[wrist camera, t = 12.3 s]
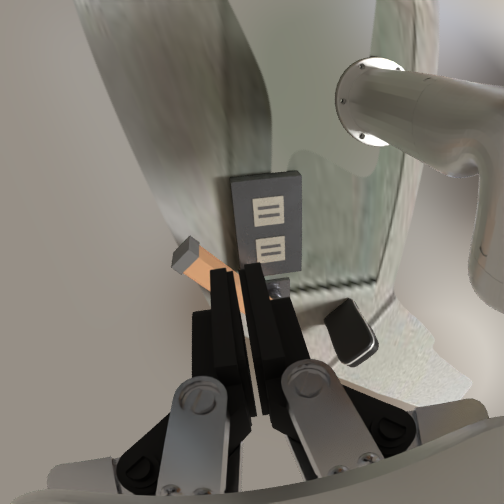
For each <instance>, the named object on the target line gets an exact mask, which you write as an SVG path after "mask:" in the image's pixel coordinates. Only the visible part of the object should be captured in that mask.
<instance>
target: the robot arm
mask: <svg viewBox="0 0 504 504" xmlns="http://www.w3.org/2000/svg"><path fill="white" fill-rule="evenodd" d="M359 65H360V66H361V68H359ZM395 69H396V70H395ZM340 99H342V102H340ZM335 106H336V112H337V115H338V118H339V120H340V122H341V124H342V125H343V127H344V128H345V130H346V131H347V132H348V133H349V134H350V135H351V136H352V137H354V138H355V139H357V140H358V141H360V142H362V143H364V144H367V145H371V146H386V145H392V146H394V147H396V148H398V149H399V150H401V151H403V152H405V153H407V154H409V155H410V156H412V157H414V158H416V159H417V160H419V161H421V162H423V163H424V164H426V165H428V166H429V167H431V168H433V169H435V170H437V171H438V172H440V173H442V174H444V175H447V176H450V177H455V178H465V177H470V176H474V175H477V174H479V190H478V203H477V211H476V217H475V224H474V230H473V236H472V242H471V247H470V254H469V260H468V274H469V279H470V283H471V285H472V287H473V289H474V291H475V292H476V294H477V295H478V296H479V298H480V299H481V300H483V301H484V302H485V303H486V304H487V305H489V306H490V307H492V308H494V309H495V310H497V311H499V312H501V313H504V86H495V85H488V84H482V83H475V82H470V81H465V80H460V79H455V78H449V77H444V76H438V75H432V74H425V73H418V72H411V71H405V70H404V69H403V68H402V67H401V66H400V65H398V64H397V63H395V62H393V61H391V60H389V59H385V58H381V57H369V58H364V59H361V60H358V61H356V62H355V63H353V64H352V65H350V66H349V67H348V68H347V69H346V70H345V71H344V73H343V74H342V76H341V77H340V80H339V82H338V84H337V88H336V92H335ZM360 134H361V135H360ZM359 135H360V136H359ZM238 272H239V278H240V284H241V291H242V297H243V303H244V309H245V315H246V321H247V327H248V333H249V339H250V345H251V351H252V357H253V362H254V369H255V374H256V380H257V385H258V392H259V398H260V403H261V409H262V414H263V415H268V414H269V416H270V421H271V423H272V427H273V428H274V429H276V430H278V431H280V432H281V433H283V434H285V438H286V440H287V443H288V445H289V447H290V450H291V452H292V455H293V457H294V460H295V462H296V465H297V467H298V469H299V472H300V474H301V476H302V479H303V481H304V482H300V483H295V484H290V485H284V486H279V487H273V488H266V489H260V490H253V491H244V492H241V486H242V485H241V484H242V463H243V462H242V461H243V440H244V439H245V438H246V436H247V435H248V434H249V433H250V432H251V426H252V423H251V417H255V416H257V413H256V406H255V400H254V394H253V388H252V381H251V375H250V369H249V363H248V357H247V350H246V344H245V337H244V331H243V325H242V319H241V314H240V308H239V302H238V297H237V291H236V285H235V279H234V273H233V271H228V272H227V270H226V267H225V268H219V269H212V270H210V294H211V309H210V310H203V311H196V312H193V314H192V315H193V316H192V378H191V379H188V380H186V381H185V382H183V383H182V384H181V385H180V386H179V387H178V388H177V390H176V391H175V394H174V397H173V401H172V406H171V412H170V413H169V414H168V415H167V416H166V417H164V418H163V419H162V420H161V421H160V422H159V423H158V424H157V425H156V426H155V427H154V428H152V429H151V430H150V431H149V432H148V433H147V434H146V435H144V436H143V437H142V438H141V439H140V440H139V441H138V442H136V443H135V444H134V445H133V446H132V447H131V448H130V449H129V450H127V451H126V452H125V453H124V454H123V455H122V456H121V457H120V458H115V459H113V458H112V457H106V458H100V459H94V460H88V461H81V462H74V463H66V464H60V465H57V466H55V467H54V468H53V469H51V471H50V473H49V474H48V479H47V487H48V489H45V490H38V491H33V492H29V493H26V494H24V495H21V496H19V497H18V498H16V499H14V500H13V501H12V502H11V503H10V504H504V416H500V417H494V418H489V416H488V413H487V410H486V408H485V406H484V405H483V404H482V403H481V402H480V401H478V400H475V399H463V400H458V401H453V402H448V403H442V404H436V405H430V406H424V407H417V408H415V409H414V411H404V410H402V409H400V408H398V407H395V406H393V405H390V404H388V403H385V402H383V401H380V400H378V399H375V398H373V397H370V396H368V395H366V394H363V393H361V392H358V391H356V390H354V389H351V388H349V387H347V386H344V385H342V384H341V383H340V381H339V379H338V377H337V376H336V374H335V372H334V371H333V370H332V368H331V367H330V366H329V365H327V364H326V363H324V362H322V361H319V360H315V359H310V356H309V353H308V350H307V347H306V344H305V341H304V338H303V335H302V331H301V328H300V325H299V323H298V320H297V317H296V314H295V311H294V308H293V305H292V302H291V299H290V297H285V298H279V299H273V300H270V297H269V294H268V290H267V286H266V282H265V278H264V275H263V271H262V267H261V263H260V262H257V263H251V264H244V269H241V270H238Z"/></svg>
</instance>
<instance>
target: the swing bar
mask: <svg viewBox="0 0 504 504" xmlns="http://www.w3.org/2000/svg"><path fill="white" fill-rule="evenodd" d="M225 267H226V270H227V272H228V271H233V273H234V279H235V285H236V291H237V297H238V302H239V308H240V311H241V312H242V313H244V314H245V309H244V303H243V297H242V291H241V284H240V278H239V274H238V273H236V272H235V271H234V270H232V269H231V268H229V267H228V266H227V265H225V264H224V263H223V262H221V261H220V260H219V259H217V258H216V257H215V256H213V255H212V254H211V253H209V252H208V251H206V250H205V249H204V248H202V247H201V246H200V245H199V242H198V241H197V240H195V239H194V238H193V237H191V236H189V237H188V238H187V239H186V240H185V241H184V242H183V243H182V244H181V245H180V246H179V247H178V248H177V249H176V251H175V252H174V253H173V259H172V266H171V268H173V269H174V270H175V271H177V272H178V273H180V274H182V273H184V274H185V275H187V276H188V277H190V278H191V279H193V280H194V281H195V282H197V283H198V284H200V285H201V286H203V287H204V288H206V289H207V290H209V291H210V270H212V269H219V268H225ZM270 300H273V299H272V298H271V297H270Z"/></svg>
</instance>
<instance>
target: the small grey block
mask: <svg viewBox="0 0 504 504" xmlns="http://www.w3.org/2000/svg"><path fill="white" fill-rule="evenodd" d="M265 282H266V286H267V290H268V294H269V297H271V298H272V299H279V298H285V297H290V279H289V277H288V278H281V279H274V280H267V281H265Z"/></svg>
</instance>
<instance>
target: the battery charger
mask: <svg viewBox="0 0 504 504" xmlns="http://www.w3.org/2000/svg"><path fill="white" fill-rule="evenodd" d="M324 322H325V325H326V327H327V329H328V332H329V335H330V338H331V341H332V344H333V347H334V349H335V352H336V354H337V356H338V358H339V360H340V361H341V363H343V364H344V365H347V366H349V367H356V366H358V365H359V364H361V363H362V362H364V361H365V360H367V359H368V358H369V357H371V356H372V355H373V354H374V353H375V352H376V351H377V350H378V347H379V343H378V340H377V338H376V336H375V334H374V332H373V330H372V328H371V327H370V326H369V325H368V324H367V322H366V321H365V319H364V317H363V316H362V314H361V312H360V311H359V309H358V306H357V305H356V303H355V302H354V300H353V299H348V300H347V301H346V302H344V303H343V304H342V305H340V306H339V307H338V308H337V309H335V310H334V311H333V312H332V313H331V314H329V315H328V316H327V317H326V318H325V319H324Z"/></svg>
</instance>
